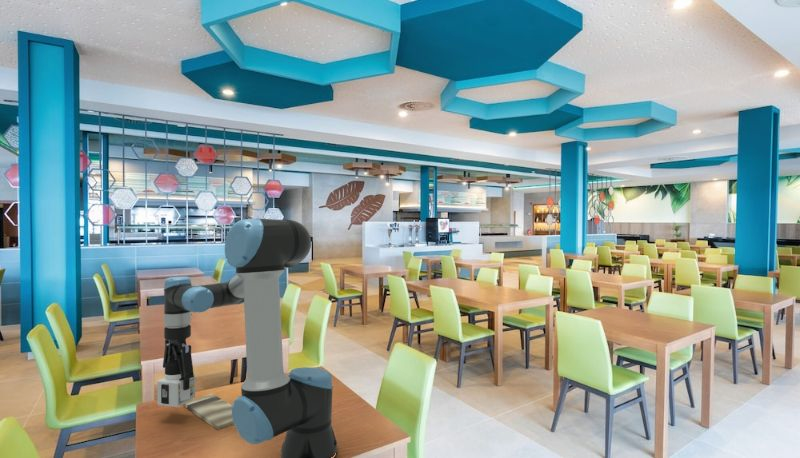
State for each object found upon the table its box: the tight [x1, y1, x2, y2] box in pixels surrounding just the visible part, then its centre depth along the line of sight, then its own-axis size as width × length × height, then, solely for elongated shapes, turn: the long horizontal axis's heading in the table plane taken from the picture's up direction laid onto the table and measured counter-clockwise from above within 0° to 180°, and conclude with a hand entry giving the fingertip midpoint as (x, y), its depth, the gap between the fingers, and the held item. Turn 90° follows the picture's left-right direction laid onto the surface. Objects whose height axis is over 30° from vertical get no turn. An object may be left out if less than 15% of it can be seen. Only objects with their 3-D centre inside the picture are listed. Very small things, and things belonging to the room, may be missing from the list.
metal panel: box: [182, 393, 234, 431], centre depth 137 cm, size 24×10×1 cm, turn 50°
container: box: [156, 359, 196, 408], centre depth 132 cm, size 8×8×13 cm
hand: (177, 395), depth 132 cm, fingers closed on container, 10 cm apart
